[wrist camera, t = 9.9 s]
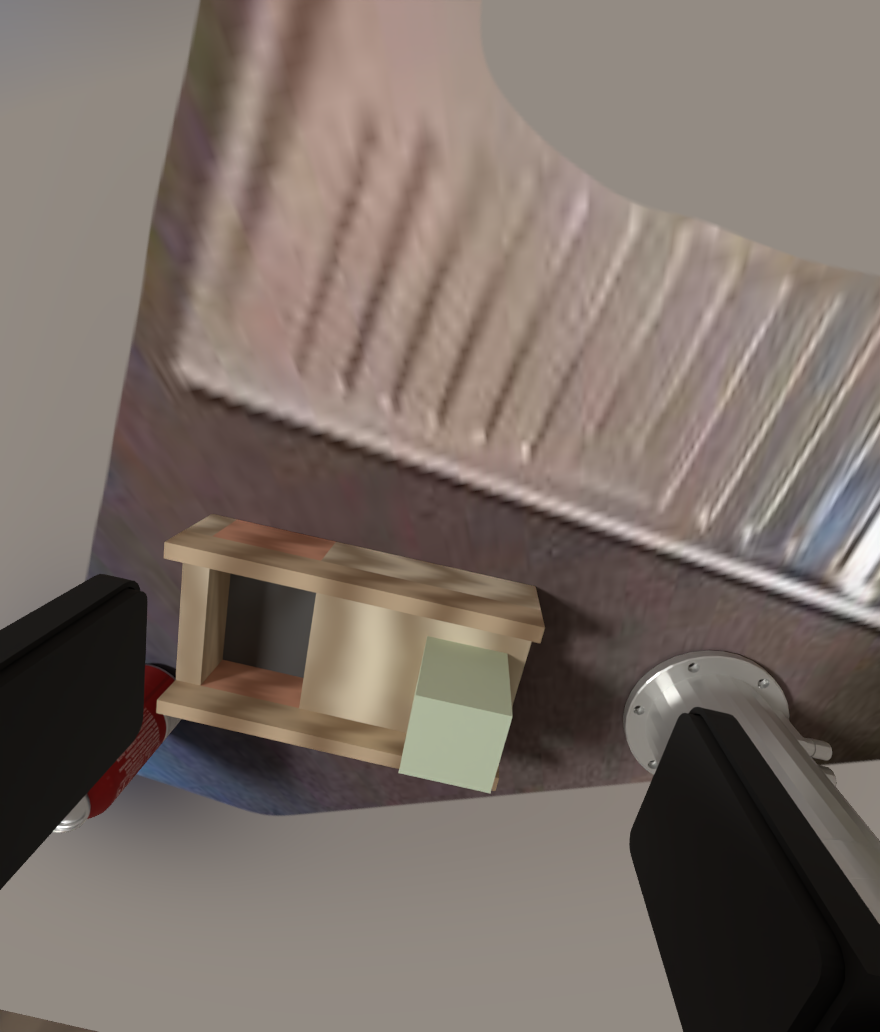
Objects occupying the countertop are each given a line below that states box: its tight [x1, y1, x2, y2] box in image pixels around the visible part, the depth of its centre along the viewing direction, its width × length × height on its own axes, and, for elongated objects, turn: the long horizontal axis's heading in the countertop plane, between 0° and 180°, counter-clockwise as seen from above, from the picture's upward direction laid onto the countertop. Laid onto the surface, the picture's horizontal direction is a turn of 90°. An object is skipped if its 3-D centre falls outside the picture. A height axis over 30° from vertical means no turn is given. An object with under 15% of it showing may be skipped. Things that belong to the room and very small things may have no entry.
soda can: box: [53, 664, 181, 833], centre depth 41 cm, size 7×7×12 cm
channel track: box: [156, 514, 545, 791], centre depth 40 cm, size 26×14×6 cm, turn 78°
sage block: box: [399, 636, 513, 793], centre depth 36 cm, size 6×6×7 cm
